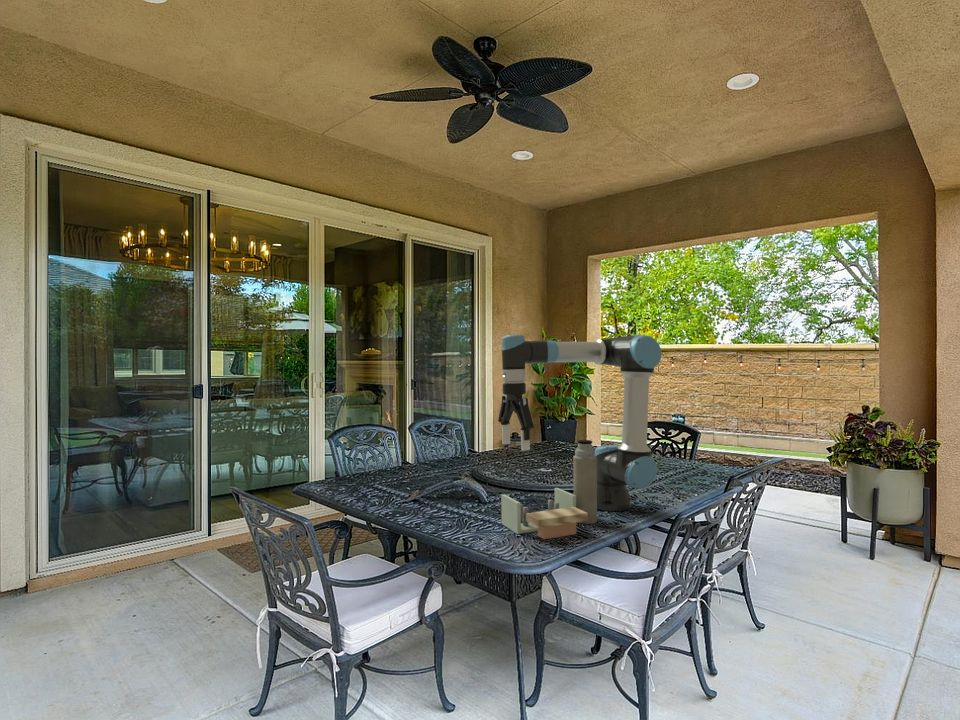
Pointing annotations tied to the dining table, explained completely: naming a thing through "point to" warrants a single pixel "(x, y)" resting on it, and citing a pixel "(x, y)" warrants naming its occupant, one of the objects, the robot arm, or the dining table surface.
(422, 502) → the dining table surface
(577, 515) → the oak shelf board
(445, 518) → the dining table surface
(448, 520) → the dining table surface
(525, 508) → the peg frame
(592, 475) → the thermos bottle
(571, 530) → the terracotta brick
